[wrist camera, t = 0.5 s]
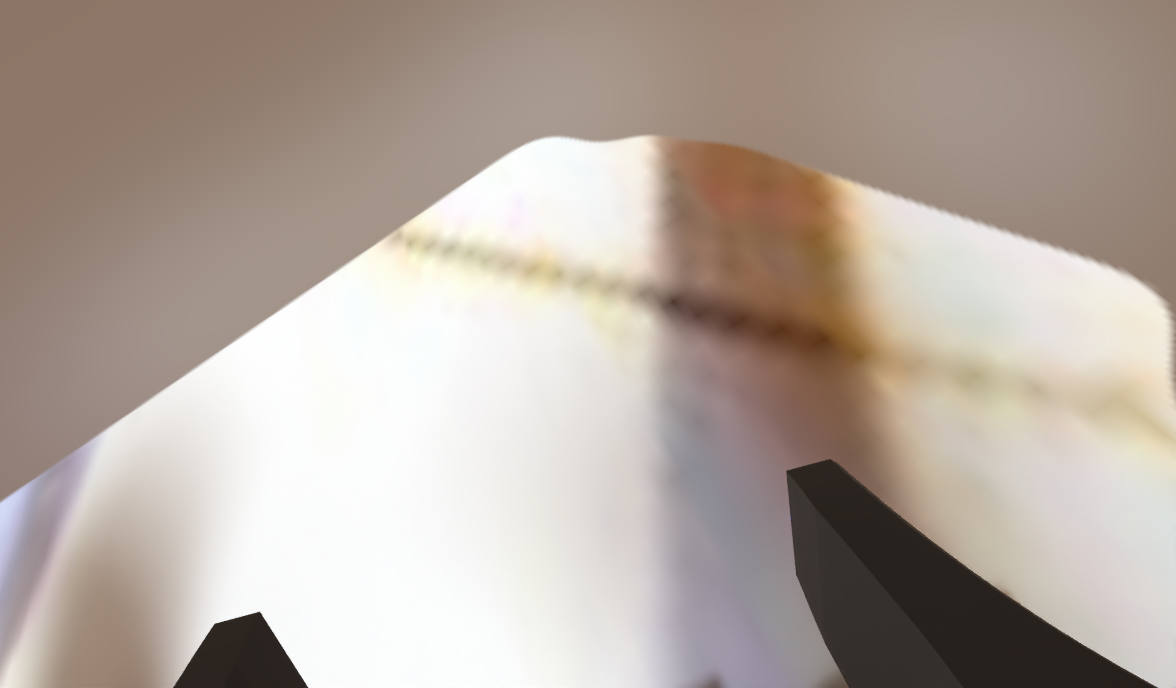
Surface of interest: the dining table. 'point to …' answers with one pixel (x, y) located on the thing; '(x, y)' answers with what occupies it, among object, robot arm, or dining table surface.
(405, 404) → the dining table surface
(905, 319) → the dining table surface
